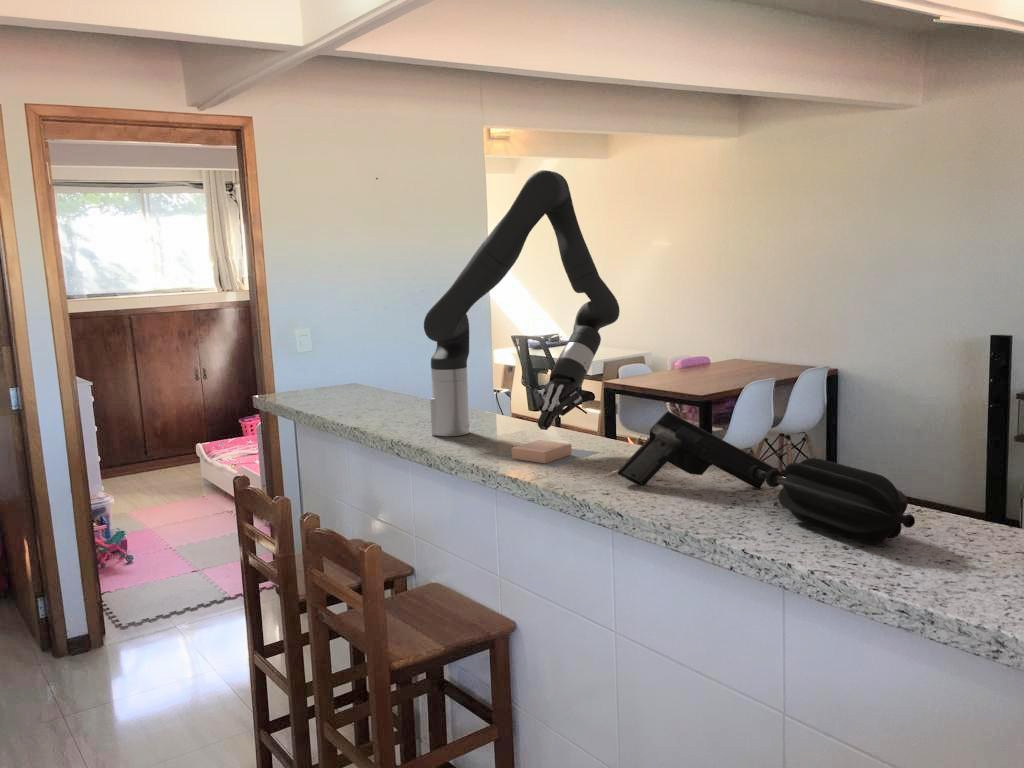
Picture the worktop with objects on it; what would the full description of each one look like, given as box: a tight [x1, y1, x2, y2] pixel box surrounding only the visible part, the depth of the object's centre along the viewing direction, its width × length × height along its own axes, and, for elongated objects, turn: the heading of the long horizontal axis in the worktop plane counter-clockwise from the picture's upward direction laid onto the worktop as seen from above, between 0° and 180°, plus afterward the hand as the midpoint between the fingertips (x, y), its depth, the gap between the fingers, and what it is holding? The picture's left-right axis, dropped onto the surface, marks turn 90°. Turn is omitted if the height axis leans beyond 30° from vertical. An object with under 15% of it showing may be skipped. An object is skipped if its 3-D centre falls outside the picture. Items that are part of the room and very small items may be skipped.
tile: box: [511, 439, 572, 463], centre depth 185 cm, size 9×3×10 cm
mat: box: [496, 448, 600, 468], centre depth 187 cm, size 16×17×1 cm
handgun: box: [617, 410, 773, 490], centre depth 158 cm, size 2×24×15 cm, turn 78°
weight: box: [748, 457, 916, 545], centre depth 132 cm, size 34×10×10 cm, turn 23°
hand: (542, 427), depth 185 cm, fingers closed
